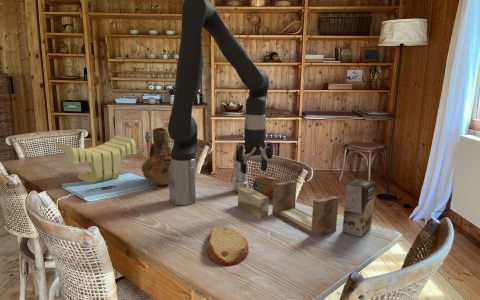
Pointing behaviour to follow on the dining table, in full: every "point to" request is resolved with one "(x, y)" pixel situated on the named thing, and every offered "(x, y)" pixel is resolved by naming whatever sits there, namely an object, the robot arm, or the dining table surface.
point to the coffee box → (358, 207)
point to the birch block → (253, 202)
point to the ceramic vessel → (158, 159)
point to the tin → (265, 185)
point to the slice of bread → (227, 246)
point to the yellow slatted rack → (101, 157)
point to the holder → (315, 224)
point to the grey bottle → (238, 175)
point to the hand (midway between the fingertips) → (253, 172)
